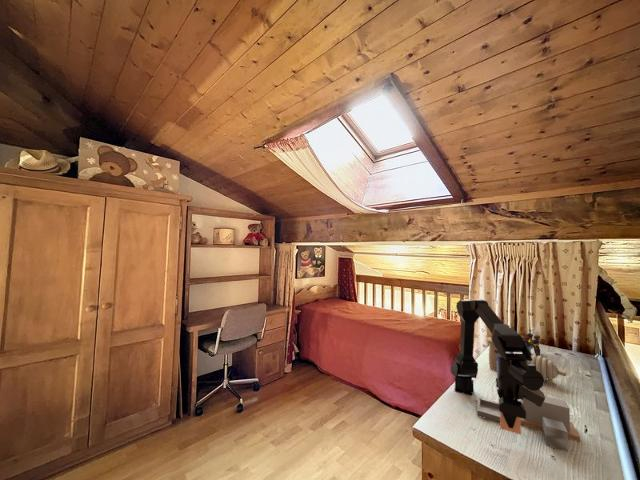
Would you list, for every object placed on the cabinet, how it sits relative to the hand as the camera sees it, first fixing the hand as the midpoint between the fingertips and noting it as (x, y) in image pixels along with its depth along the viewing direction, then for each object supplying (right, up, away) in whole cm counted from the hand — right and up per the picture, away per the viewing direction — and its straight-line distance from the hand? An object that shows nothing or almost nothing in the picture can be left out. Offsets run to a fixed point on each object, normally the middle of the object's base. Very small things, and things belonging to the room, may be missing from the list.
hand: (509, 422), depth 81 cm
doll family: (+59, -8, +62) cm, 86 cm away
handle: (+28, -8, +49) cm, 56 cm away
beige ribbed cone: (+42, -8, +37) cm, 57 cm away
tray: (+4, -7, +14) cm, 16 cm away
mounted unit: (+18, -6, +8) cm, 20 cm away
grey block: (+14, -6, 0) cm, 15 cm away
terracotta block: (0, -1, 0) cm, 1 cm away
